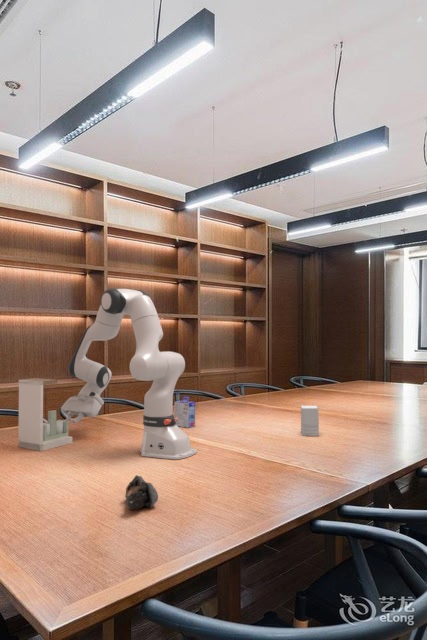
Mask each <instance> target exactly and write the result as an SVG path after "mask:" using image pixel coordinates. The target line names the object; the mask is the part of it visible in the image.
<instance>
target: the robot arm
mask: <svg viewBox="0 0 427 640" xmlns="http://www.w3.org/2000/svg"><path fill="white" fill-rule="evenodd" d="M100 297H101V298H100V306H99V308H98V311H97V313H96V317H95V321H94V322H93V324H91V325H88V326H87V327H86V328H85V330H84V331H83V334H82V335H81V338H80V340H79V342H78V344H77V346H76V349H75V352H74V354H73V356H72V357H71V359H70V361H69V363H68V365H67V371H68V374H69V375H70V376H71V377H72V378H73V377H74V378H77V379H79V380H82V381H85V382H86V384H85V385H83V387H82V388H81V389H80V391H79V392H78V394H77V395H73V396H71V397H69V398H68V399H67V400H66V401H65V402H64V403H63V405H61V409H60V410H61V412H63V413H64V414H66V415H67V416H66V418H65V421H68V423H71V421H72V422H73V424H78V422H79V421H80V420H82V419H83V418H84V417H88V418H94V417H96V416H97V415H98V413H99V411H100V410H101V408H102V406H103V405H104V403H105V401H104V399H103V398H102V397H101V394H102V393H103V391H104V390H106V389H107V387H108V385H109V383H110V380H111V379H112V376H113V375H112V374H113V373H112V371H111V369H110V368H108V366H105V365H103V364H102V363H100V362H97V361H94V360H92V359H89V358H88V357H87V356H86V355H87V353H88V350H89V348H90V346H91V343H92V342H94V341H103V342H105V341H109V340H112V339H114V338H115V337H117V335H118V334H119V332H120V328H121V325H122V321H123V317H124V316H129V318H130V321H131V325H132V329H133V333H134V336H135V337H134V338H135V341H136V344H135V345H136V347H135V353H134V355H133V357H131V359H130V362H129V371H130V372H129V373H130V374H131V376H132V378H134V379H135V380H137V381H144V382H145V381H146V382H149V381H152V384H151V387H150V388H149V389H148V390H147V392H146V393H145V394H144V397H143V398H144V402H143V403H144V404H143V405H144V408H143V409H144V410H143V411H144V412H143V413H144V414H143V415H142V416H143V417H142V424H143V434H142V442H141V447H140V451H139V452H140V453H141V454H140V456H141V457H146V458H148V457H149V458H157V459H165V460H166V459H167V460H180V459H181V460H182V459H186V458H189V457H191V456H194V455H195V454H196V453H197V449H196V448H192V447H191V441H190V437H189V435H187V433H185V432H184V431H183V429H181V428H180V426H177V425H176V421H177V420H176V419H177V418H178V417H177V418H174V413H173V403H174V402H173V399H174V398H173V397H174V391H175V388H176V385H177V382H178V380H179V378H180V377H181V375H182V374H184V372H185V368H186V361H185V357H183V355H182V354H181V353H179V352H175V351H169V350H168V351H167V350H166V351H160V349H159V344H160V343H159V342H161V340H162V339H163V337H164V331H163V328H162V324H161V321H160V317H159V314H158V312H157V309H156V307H155V304H154V302H153V301H152V298H150V296H149V294H148V293H147V292H146V291H144V290H143V291H142V290H140V289H139V290H138V289H137V290H135V289H128V288H109V289H105V290H104V291H103V292H102V295H101V296H100ZM73 416H75V417H74V418H73V420H72V417H73Z"/></svg>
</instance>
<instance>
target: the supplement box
mask: <svg viewBox="0 0 427 640" xmlns="http://www.w3.org/2000/svg"><path fill="white" fill-rule="evenodd" d="M319 412H320V411H319V408H318V406H317V405H300V433H301V435H302V437H319V436H320V431H319V429H320V425H319V424H320V423H319V422H320V421H319V420H320V419H319V418H320V417H319V416H320V415H319Z"/></svg>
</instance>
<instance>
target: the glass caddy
mask: <svg viewBox="0 0 427 640" xmlns="http://www.w3.org/2000/svg"><path fill="white" fill-rule="evenodd" d="M64 436H69V422H68V421H66V420H63V419H57V410H56V409H55V410H54V409H53V410H48V411H47V422H45V423H44V422H43V441H47V440H51V439H56V438H60V437H64Z"/></svg>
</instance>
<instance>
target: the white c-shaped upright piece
mask: <svg viewBox="0 0 427 640" xmlns="http://www.w3.org/2000/svg"><path fill="white" fill-rule="evenodd" d="M55 384H58V379H53V378H38V377H34V378H33V377H32V378H22V379H18V448H23V449H29V450H33V451H37V452H43V451H46V450H50V449H51V450H52V449H54V448H58V447H61V446H66V445H70V444H73V436H69V435H68V436H64V437H60V438H56V439H51V440H47V441H43V423H44V386H46V385H55Z"/></svg>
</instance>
